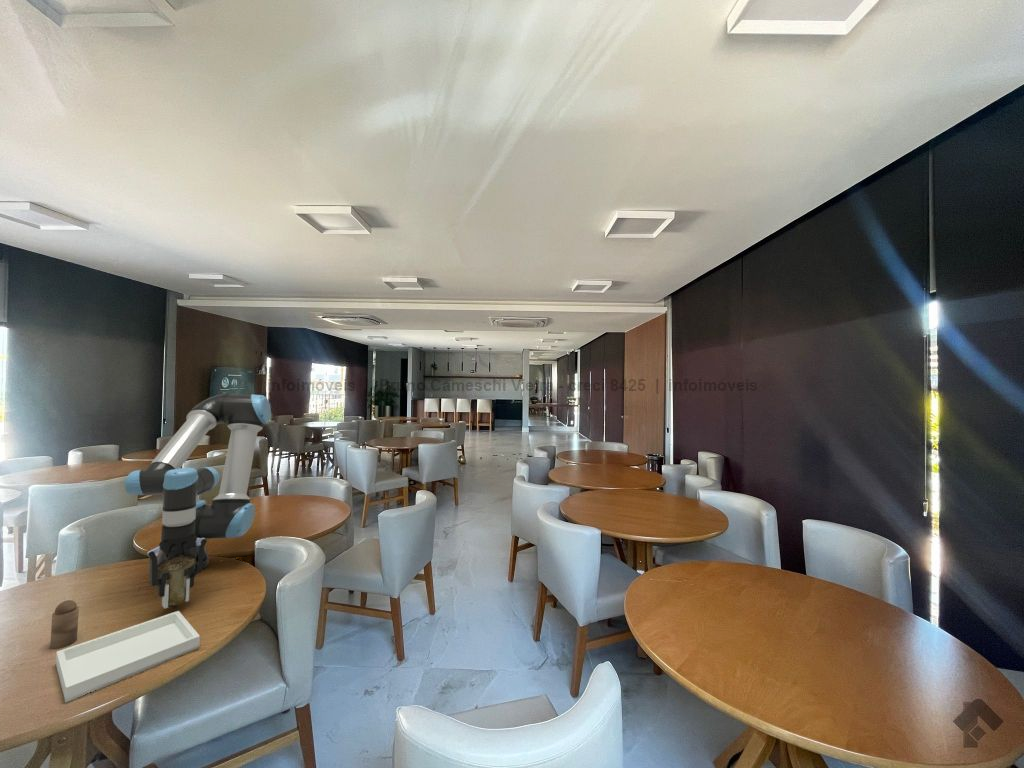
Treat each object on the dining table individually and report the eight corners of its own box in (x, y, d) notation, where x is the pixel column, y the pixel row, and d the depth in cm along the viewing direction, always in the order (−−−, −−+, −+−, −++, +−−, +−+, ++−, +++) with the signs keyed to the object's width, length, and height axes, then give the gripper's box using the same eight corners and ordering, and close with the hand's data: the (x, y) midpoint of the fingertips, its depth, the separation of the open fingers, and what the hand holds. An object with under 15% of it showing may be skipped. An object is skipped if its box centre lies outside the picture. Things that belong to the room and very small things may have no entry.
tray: (178, 621, 107) (178, 610, 108) (199, 648, 97) (199, 635, 97) (55, 664, 90) (56, 651, 90) (65, 703, 79) (66, 687, 79)
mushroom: (165, 619, 107) (168, 564, 108) (146, 611, 110) (149, 558, 111) (202, 602, 116) (205, 551, 117) (183, 596, 119) (186, 546, 120)
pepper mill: (75, 635, 100) (78, 594, 101) (78, 642, 98) (80, 600, 98) (49, 644, 97) (51, 601, 97) (51, 651, 94) (53, 607, 95)
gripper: (210, 512, 123) (207, 587, 123) (136, 527, 109) (132, 611, 109) (218, 518, 118) (215, 595, 118) (142, 533, 105) (138, 621, 104)
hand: (175, 602), depth 113 cm, fingers closed on mushroom, 4 cm apart
